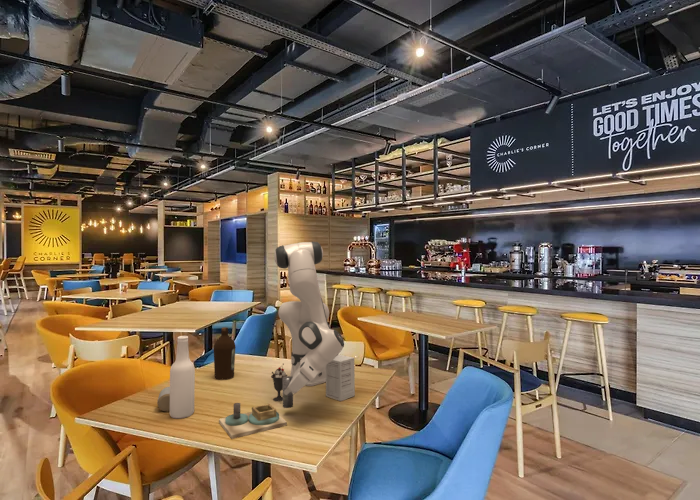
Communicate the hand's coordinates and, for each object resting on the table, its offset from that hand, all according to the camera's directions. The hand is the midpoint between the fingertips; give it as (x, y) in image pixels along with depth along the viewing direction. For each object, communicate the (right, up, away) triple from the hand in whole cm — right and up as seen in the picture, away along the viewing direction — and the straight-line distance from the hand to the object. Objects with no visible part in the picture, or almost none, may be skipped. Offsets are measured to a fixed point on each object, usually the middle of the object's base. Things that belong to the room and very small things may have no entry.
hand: (286, 390), depth 153 cm
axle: (+1, -6, 0) cm, 6 cm away
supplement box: (+21, -10, +20) cm, 30 cm away
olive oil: (-39, -10, +46) cm, 61 cm away
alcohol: (-40, -9, -1) cm, 41 cm away
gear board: (-11, -9, -9) cm, 17 cm away
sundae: (-6, -9, +16) cm, 19 cm away
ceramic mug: (-47, -9, +6) cm, 48 cm away
